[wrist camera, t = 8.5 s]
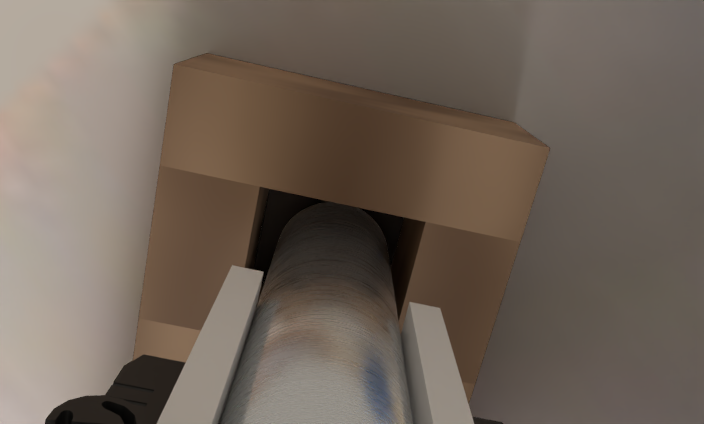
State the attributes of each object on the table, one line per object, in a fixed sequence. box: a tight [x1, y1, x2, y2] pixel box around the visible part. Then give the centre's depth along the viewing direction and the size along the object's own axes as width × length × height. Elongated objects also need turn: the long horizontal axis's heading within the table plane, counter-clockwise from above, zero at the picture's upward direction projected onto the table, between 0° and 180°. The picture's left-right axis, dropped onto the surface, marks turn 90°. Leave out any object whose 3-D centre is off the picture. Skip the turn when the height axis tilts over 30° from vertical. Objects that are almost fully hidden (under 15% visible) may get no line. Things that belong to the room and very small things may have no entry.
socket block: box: [133, 53, 550, 404], centre depth 22 cm, size 10×18×4 cm, turn 167°
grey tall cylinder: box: [219, 202, 413, 424], centre depth 15 cm, size 4×4×14 cm
